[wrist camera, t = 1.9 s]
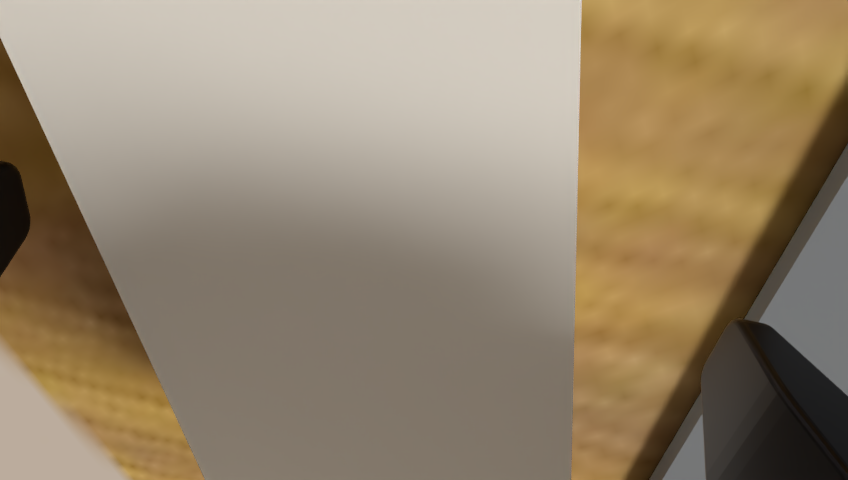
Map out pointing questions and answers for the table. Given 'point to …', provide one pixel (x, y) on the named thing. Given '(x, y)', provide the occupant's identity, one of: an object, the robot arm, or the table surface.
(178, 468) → the table surface
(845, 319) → the mat
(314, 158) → the block
